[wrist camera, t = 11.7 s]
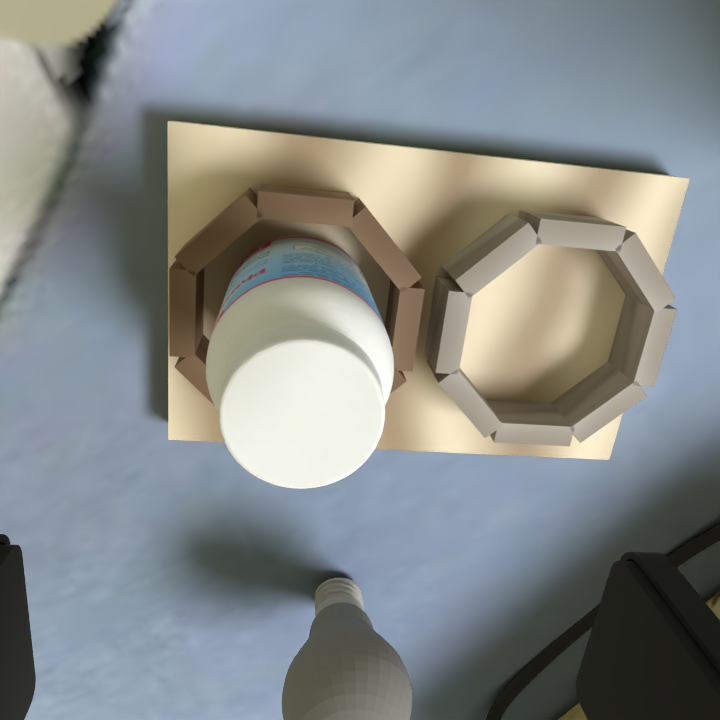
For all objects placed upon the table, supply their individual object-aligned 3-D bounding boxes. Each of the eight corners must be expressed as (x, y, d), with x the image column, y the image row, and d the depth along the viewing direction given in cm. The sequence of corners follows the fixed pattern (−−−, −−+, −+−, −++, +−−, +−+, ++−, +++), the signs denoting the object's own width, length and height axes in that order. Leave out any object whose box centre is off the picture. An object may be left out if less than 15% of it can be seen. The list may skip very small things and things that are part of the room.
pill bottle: (236, 220, 26) (199, 293, 16) (380, 244, 27) (435, 329, 16) (220, 355, 28) (178, 499, 18) (354, 373, 29) (388, 520, 19)
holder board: (670, 175, 29) (726, 184, 25) (596, 445, 34) (633, 486, 30) (174, 120, 26) (154, 122, 22) (174, 424, 31) (157, 467, 27)
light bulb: (409, 568, 35) (449, 729, 26) (358, 642, 37) (380, 819, 28) (314, 531, 34) (322, 690, 25) (266, 611, 36) (256, 787, 26)
